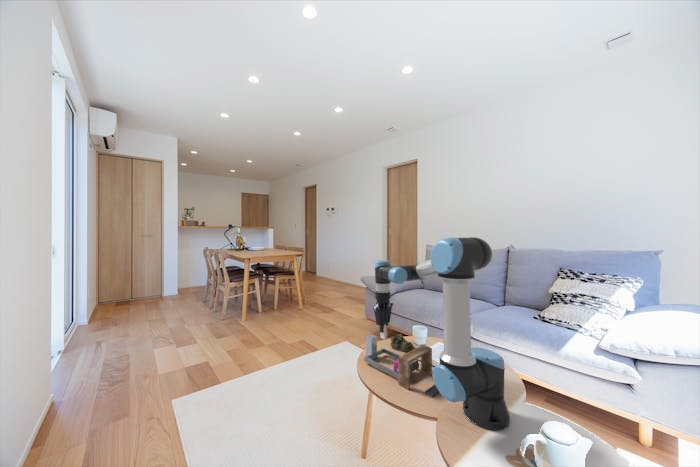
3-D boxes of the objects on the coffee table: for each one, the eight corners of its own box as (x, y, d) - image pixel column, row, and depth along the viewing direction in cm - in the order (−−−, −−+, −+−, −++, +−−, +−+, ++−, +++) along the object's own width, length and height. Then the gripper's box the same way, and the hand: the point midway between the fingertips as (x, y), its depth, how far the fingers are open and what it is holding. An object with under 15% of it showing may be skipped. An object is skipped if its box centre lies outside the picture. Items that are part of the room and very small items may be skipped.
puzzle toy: (403, 378, 122) (403, 366, 122) (393, 373, 126) (393, 361, 126) (411, 374, 125) (411, 362, 125) (401, 369, 130) (401, 357, 130)
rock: (391, 342, 162) (384, 340, 154) (403, 330, 161) (396, 327, 154) (405, 360, 153) (399, 359, 146) (418, 347, 153) (412, 345, 145)
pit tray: (447, 385, 116) (447, 383, 116) (432, 397, 108) (432, 395, 108) (440, 382, 119) (440, 380, 119) (424, 393, 111) (424, 391, 111)
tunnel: (431, 374, 125) (431, 348, 125) (408, 389, 113) (408, 361, 113) (422, 369, 129) (422, 344, 129) (398, 384, 117) (398, 357, 117)
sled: (419, 370, 128) (419, 347, 128) (399, 381, 119) (399, 357, 118) (378, 351, 148) (378, 331, 148) (358, 360, 138) (358, 339, 138)
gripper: (385, 288, 142) (386, 332, 142) (368, 292, 133) (369, 339, 133) (397, 290, 137) (397, 336, 137) (379, 294, 128) (380, 344, 128)
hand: (383, 338), depth 135 cm, fingers closed
